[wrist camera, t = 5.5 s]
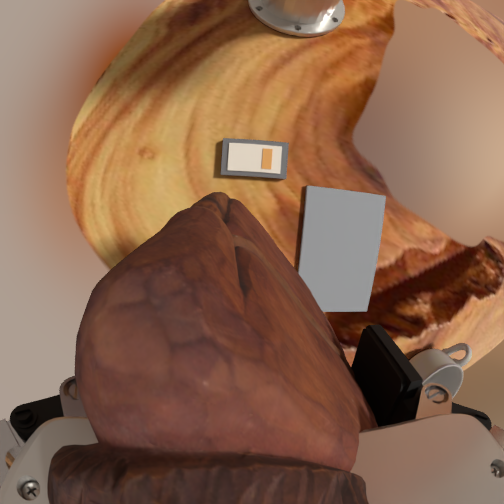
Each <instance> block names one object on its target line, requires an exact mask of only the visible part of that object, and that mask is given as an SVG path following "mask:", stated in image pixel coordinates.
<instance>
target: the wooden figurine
mask: <svg viewBox="0 0 504 504" xmlns="http://www.w3.org/2000/svg"><path fill="white" fill-rule="evenodd" d="M75 378H76V383H77V387H78V391H79V394H80V398H81V401H82V404H83V407H84V410H85V413H86V415H87V417H88V420H89V422H90V424H91V427H92V429H93V431H94V433H95V436H96V438H97V440H98V443H94V444H88V445H76V444H74V445H67V446H62V447H61V448H60V449H59V450H58V451H57V452H56V453H55V454H54V455H53V457H52V459H51V463H50V467H49V472H48V483H47V494H48V500H49V504H369V503H368V500H367V495H366V483H365V481H364V480H363V478H362V477H361V476H359V475H357V474H355V473H351V472H350V471H351V470H352V468H353V466H354V464H355V461H356V456H357V451H358V446H359V433H360V432H362V431H363V430H366V429H372V428H377V427H378V425H377V423H376V420H375V417H374V414H373V412H372V410H371V408H370V406H369V404H368V402H367V400H366V398H365V396H364V394H363V392H362V390H361V388H360V387H359V385H358V383H357V382H356V380H355V375H354V372H353V370H352V368H351V367H350V365H349V363H348V362H347V360H346V357H345V354H344V351H343V349H342V347H341V345H340V343H339V341H338V339H337V338H336V335H335V333H334V331H333V329H332V327H331V325H330V323H329V321H328V320H327V318H326V316H325V315H324V313H323V312H322V310H321V308H320V307H319V305H318V303H317V302H316V300H315V298H314V297H313V295H312V293H311V291H310V289H309V288H308V286H307V285H306V283H305V282H304V280H303V279H302V278H301V276H300V275H299V274H298V272H297V271H296V270H295V268H294V267H293V266H292V265H291V263H290V262H289V261H288V260H287V258H286V257H285V256H284V254H283V253H282V252H281V251H280V249H279V248H278V247H277V245H276V244H275V242H274V241H273V239H272V238H271V237H270V235H269V234H268V233H267V231H266V230H265V229H264V228H263V226H262V225H261V224H260V223H259V221H258V220H257V219H256V218H255V217H254V216H253V215H252V214H251V213H250V212H249V210H248V209H247V208H246V207H245V206H244V205H243V204H242V203H241V202H240V201H238V200H236V199H230V198H229V197H228V195H226V194H225V193H223V192H213V193H211V194H209V195H207V196H205V197H203V198H202V199H201V200H199V201H198V202H197V203H194V204H193V205H192V206H191V207H190V208H187V209H185V210H182V211H180V212H178V213H176V214H175V215H174V216H173V217H172V218H171V219H170V220H169V221H168V222H167V224H166V225H165V226H164V227H163V228H162V229H161V230H160V231H159V232H158V233H156V234H155V235H154V236H153V237H151V238H150V239H148V240H147V241H146V242H144V243H143V244H142V245H140V246H139V247H138V248H137V249H135V250H134V251H133V252H131V253H130V254H129V255H128V256H127V257H126V258H124V259H123V260H122V261H121V262H119V263H118V264H117V265H116V266H115V267H113V268H112V269H111V270H110V271H109V272H108V273H107V274H106V275H105V276H104V277H103V278H102V279H101V280H100V281H99V282H98V283H97V285H96V286H95V288H94V289H93V291H92V293H91V296H90V299H89V301H88V303H87V307H86V309H85V312H84V315H83V318H82V321H81V324H80V328H79V331H78V334H77V341H76V355H75Z"/></svg>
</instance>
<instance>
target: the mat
mask: <svg viewBox="0 0 504 504" xmlns="http://www.w3.org/2000/svg"><path fill="white" fill-rule="evenodd" d="M385 199H386V196H382V195H376V194H369V193H362V192H355V191H348V190H340V189H332V188H324V187H315V186H306V196H305V207H304V218H303V229H302V238H301V248H300V257H299V266H298V274H299V275H300V276H301V278H302V279H303V280H304V282H305V283H306V285H307V286H308V288H309V289H310V291H311V293H312V295H313V297H314V298H315V300H316V302H317V303H318V305H319V307H320V308H321V310H322V311H323V312H348V311H367V308H368V303H369V299H370V294H371V290H372V285H373V280H374V275H375V269H376V264H377V258H378V252H379V246H380V240H381V233H382V225H383V217H384V209H385Z"/></svg>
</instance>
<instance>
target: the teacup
mask: <svg viewBox="0 0 504 504" xmlns="http://www.w3.org/2000/svg"><path fill="white" fill-rule="evenodd" d="M459 350H465V351H466V355H465V357H464V358H463V359H461V360H457V359H452V358H451V357H449V355H451V354H452V353H454V352H456V351H459ZM471 356H472V350H471V348H470V346H469V345H467V344H465V343H459V344H456V345H454V346H452V347H450V348H448V349H443V350H442V351H441V350H438V349H428V350H425V351H423V352H421V353H419V354H417V355H415V356H414V357H413V358H411V359H410V360H409V362H410V363H411V364H412V365H413V367H414V368H415V369H416V371H417V372H418V373H419V375H420V376H421V377H422V379H423V381H422V385H423V386H425V385H426V384H428V383H438V384H441V385H443V386H445V387H446V388H447V389H448V390H449V391H450V392H451V394H452V398H453V397H454V396H455V394H456V393H457V392H458V390H459V388H460V386H461V384H462V381H463V370H462V368H461V367H462V366H464V365H466V364H467V363H468V362H469V361H470V359H471Z"/></svg>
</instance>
